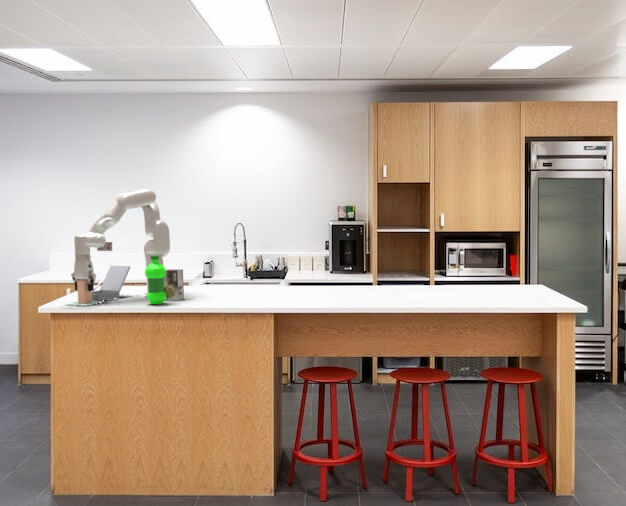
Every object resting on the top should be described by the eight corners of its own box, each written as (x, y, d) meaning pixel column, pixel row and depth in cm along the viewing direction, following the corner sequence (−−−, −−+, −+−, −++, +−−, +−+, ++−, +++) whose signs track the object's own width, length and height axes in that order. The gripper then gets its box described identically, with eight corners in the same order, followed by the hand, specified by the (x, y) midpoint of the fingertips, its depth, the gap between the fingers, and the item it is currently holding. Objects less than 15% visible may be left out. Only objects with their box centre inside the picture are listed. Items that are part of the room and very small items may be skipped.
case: (131, 296, 403) (130, 266, 402) (98, 302, 381) (96, 270, 380) (111, 295, 411) (110, 265, 409) (77, 301, 389) (76, 269, 388)
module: (92, 302, 379) (91, 278, 378) (84, 303, 374) (83, 279, 373) (85, 301, 381) (84, 278, 380) (78, 303, 377) (76, 279, 376)
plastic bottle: (167, 304, 368) (166, 256, 366) (146, 306, 365) (144, 257, 363) (166, 302, 378) (164, 254, 376) (145, 303, 375) (143, 255, 373)
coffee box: (184, 299, 388) (183, 269, 387) (178, 300, 382) (177, 270, 381) (169, 298, 391) (168, 269, 390) (163, 300, 385) (162, 270, 384)
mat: (104, 302, 380) (104, 301, 380) (84, 306, 368) (84, 305, 368) (85, 301, 387) (85, 300, 387) (65, 305, 375) (65, 303, 375)
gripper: (100, 257, 375) (101, 290, 376) (76, 257, 383) (78, 288, 385) (89, 259, 368) (90, 292, 370) (65, 258, 377) (67, 290, 378)
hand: (84, 290), depth 377 cm, fingers open, 9 cm apart
